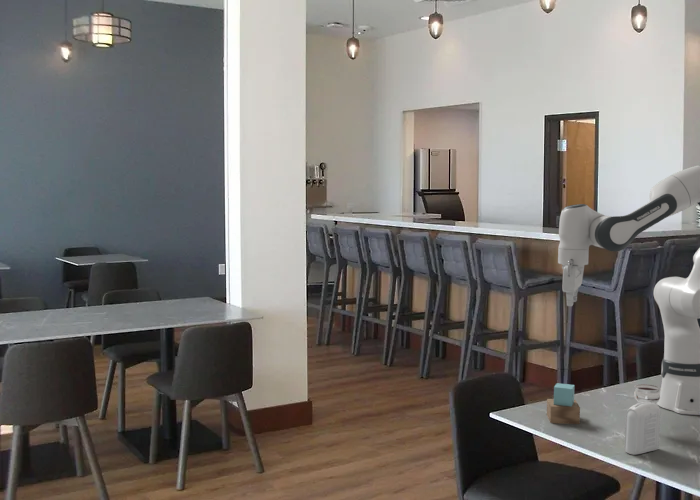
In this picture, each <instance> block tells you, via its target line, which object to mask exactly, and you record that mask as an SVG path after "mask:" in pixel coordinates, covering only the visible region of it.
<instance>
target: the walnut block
mask: <svg viewBox="0 0 700 500" xmlns="http://www.w3.org/2000/svg"><path fill="white" fill-rule="evenodd" d="M546 416H547V419H548V421H549V424H565V425H567V424H569V425H580V420H581V419H580V418H581V417H580V416H581V407H580V405H579V404H578V402H577V400H576V399H574V403H573V405H572V406H563V405H554V398H547V399H546Z"/></svg>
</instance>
